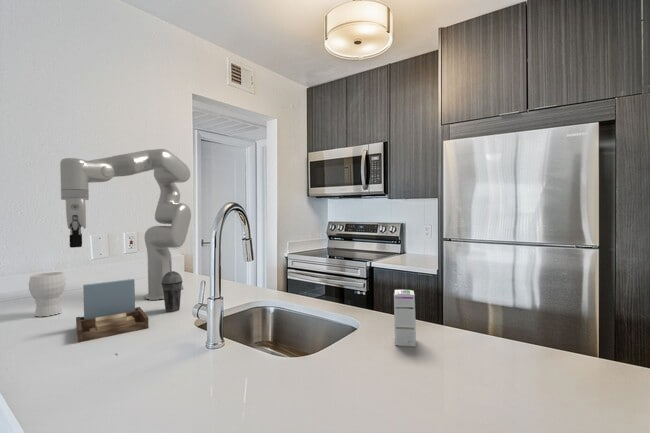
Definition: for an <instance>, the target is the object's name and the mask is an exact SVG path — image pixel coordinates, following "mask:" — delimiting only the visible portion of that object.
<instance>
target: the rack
mask: <svg viewBox="0 0 650 433" xmlns="http://www.w3.org/2000/svg"><path fill="white" fill-rule="evenodd" d="M120 314H122V313H120ZM114 315H115V314H114ZM126 315H127V317H128V316H132V317H133V318H134V319H135V322H136V323H134V324H129V325H124V326H119V327H113V328H108V329H103V330H98V331H93V332H90V331H89V328H95V323H96V318H91V319H85V320H84V316H77V317H75V322H76V325H75V326H76V328H75V329H76V335H77V343H83V342H88V341H89V342H90V341H92V340H98V339H102V338H108V337H112V336H118V335H123V334H127V333H132V332H137V331H143V330H146V329H147V330H148V329H149V328H150V327H149V316H148V315H147V314H146V312H144V310H143V309H142V308H141V307H140V306H135V311H132V312H126ZM108 316H109V315H108Z"/></svg>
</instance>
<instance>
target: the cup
mask: <svg viewBox="0 0 650 433" xmlns="http://www.w3.org/2000/svg"><path fill="white" fill-rule="evenodd" d="M65 286H66V276H65V273H64V272H63V271H62V272H61V271H53V272H52V271H51V272H50V271H49V272H42V273H35V274H32V275H30V278H29V280H28V290H29V292H30V295H31V297H32V298H33V299H34V302H35V306H36V308H35V312H34V313H35V314H34V317H35V316H48V315H52V314H56V313H59V312H61V311H62V307H61V296H62V294H63V292H64V290H65ZM61 313H62V312H61ZM48 317H49V316H48Z"/></svg>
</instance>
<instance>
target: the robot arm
mask: <svg viewBox="0 0 650 433" xmlns="http://www.w3.org/2000/svg"><path fill="white" fill-rule="evenodd" d="M59 166H60V168H59V171H60V200H61V201H62V200H63V201H65V215H66V217H65V218H66V225H67V229H68V230H69V231H70V233H69V248H83V232H82V228H83V230H84V229H86V228H87V210H86V208H87V207H86V201H89V183H92V184H93V183H105V182H109V181H111V180H112V179H113V178H115V177H129V176H133V175H137V174H141V173H145V172H150V171H153V177H154V180H155V181H156V183H157V185H158V187H159V189H160V192H159V199H158V201H157V204H156V205H157V206H156V209H155V212H154V220H155V221H156V222H157V223H159V224H162V225H153V226H151V227H149V228H147V230H146V231H145V233H144V243H145V247H146V248H145V249H146V253H147V285H148V286H147V288H148V290H147V291H148V293H146V294H145V295H144V296H143V297H144V299H145V300H147V299H149V300H148V301H159V299H162V300H164V293H163V288H162V284H161V283H162V279H163V277H164V275H165V274H166V273H168V272H170V265H169V260H171V270H172V271H173V269H172V266H173V264H172V254H171V250H170V249H169V248H171V249H172V248H174V249H175V248H181V247H182V246H183V244H185V241H186V239H187V235H188V232H189V228H190V223H191V218H192V212H191V211H192V210H191V209H190V207H189V205H187V203H183V202H180V200H181V192H180V190H179V187H178V186H177V184H180V183H181V184H182V183H185V182H188V181H189V180H190V178H191V170H190V167H189V166H188V165H187V164H186V163H185V162H184V161H182V160H181V159H180V158H179V157H178V156H177V155H175V154H174V153H172V151H170V150H167V149H165V148H157V149H155V148H154V149H145V150H139V151H134V152H130V153H129V152H128V153H124V154H117V155H112V156H108V157H103V158H97V159H91V160H85V159H82V158H76V157H75V158H74V157H70V158H68V157H66V158H62V159H61V160H60V164H59ZM183 290H184V285H182V287H181V291H183Z"/></svg>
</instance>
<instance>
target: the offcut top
mask: <svg viewBox="0 0 650 433" xmlns="http://www.w3.org/2000/svg"><path fill="white" fill-rule="evenodd" d="M123 321H127V315H126V313H122V314H115V315H109V316H103V317H96V326H99V325H105V324H111V323H117V322H123Z"/></svg>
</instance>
